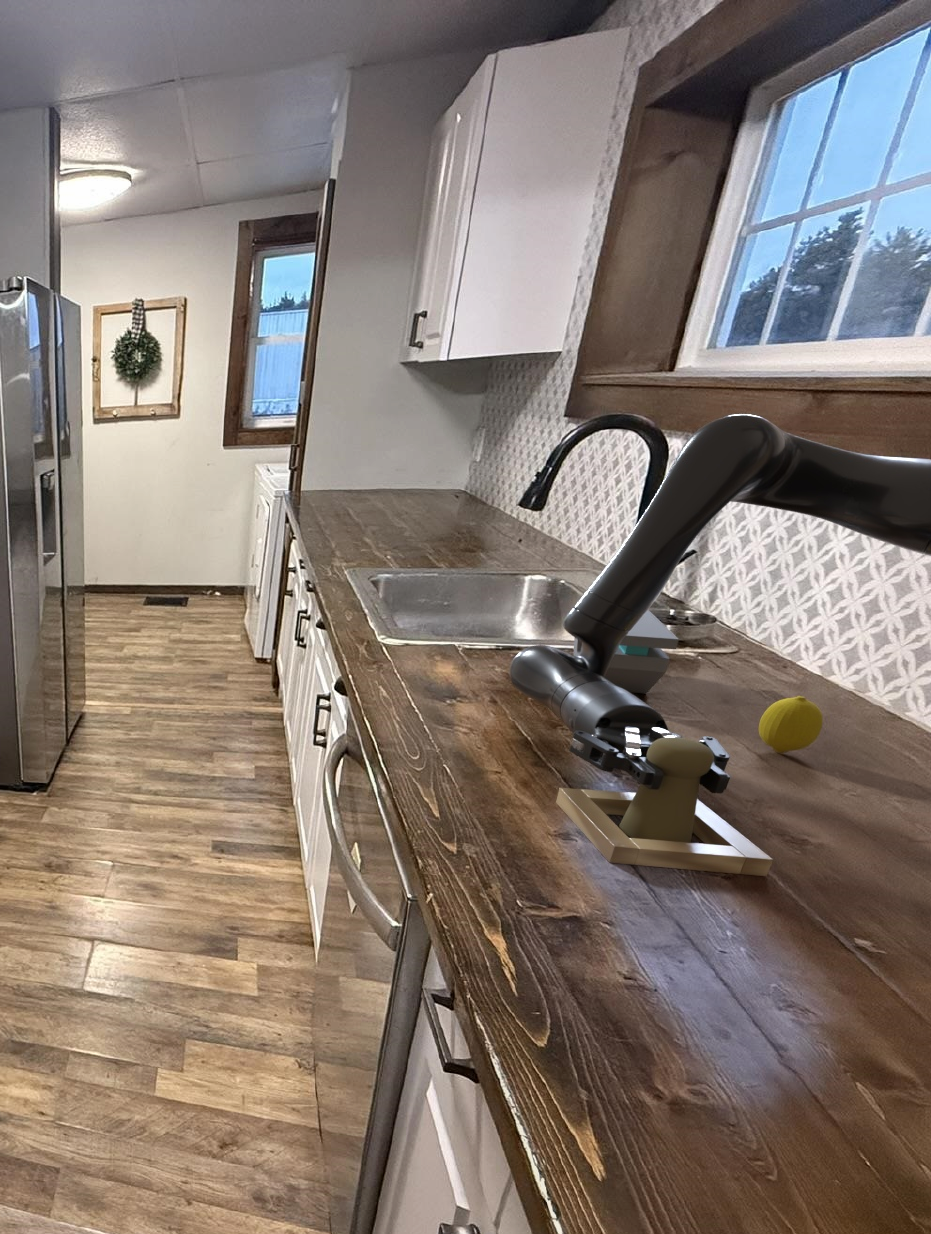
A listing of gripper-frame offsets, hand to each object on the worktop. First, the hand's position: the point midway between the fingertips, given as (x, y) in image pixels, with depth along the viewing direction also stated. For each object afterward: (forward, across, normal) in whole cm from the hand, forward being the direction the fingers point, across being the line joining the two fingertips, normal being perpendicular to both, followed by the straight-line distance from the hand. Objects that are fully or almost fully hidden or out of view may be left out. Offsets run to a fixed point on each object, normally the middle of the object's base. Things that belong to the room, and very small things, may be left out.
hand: (689, 783), depth 79 cm
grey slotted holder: (-57, +18, +8) cm, 60 cm away
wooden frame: (-3, 0, +8) cm, 8 cm away
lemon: (-29, +26, +8) cm, 40 cm away
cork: (-3, 0, +8) cm, 8 cm away
